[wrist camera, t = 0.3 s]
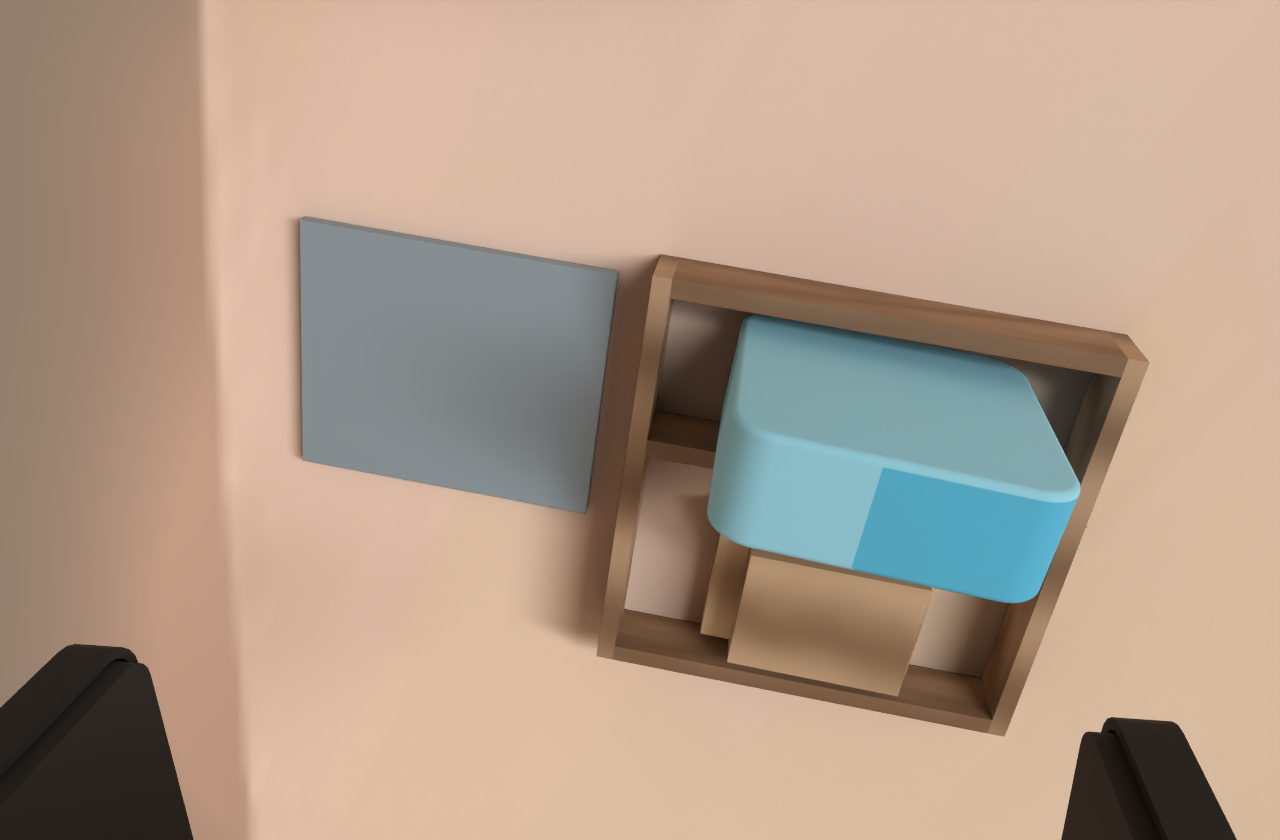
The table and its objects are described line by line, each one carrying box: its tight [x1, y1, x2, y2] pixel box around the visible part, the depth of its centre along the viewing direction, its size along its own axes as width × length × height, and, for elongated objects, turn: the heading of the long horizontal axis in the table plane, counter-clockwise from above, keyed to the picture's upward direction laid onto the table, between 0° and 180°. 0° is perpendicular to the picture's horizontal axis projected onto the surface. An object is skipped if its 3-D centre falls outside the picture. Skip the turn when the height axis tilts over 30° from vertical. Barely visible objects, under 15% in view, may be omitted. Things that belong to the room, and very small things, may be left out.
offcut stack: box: [700, 534, 934, 696], centre depth 49 cm, size 7×10×4 cm
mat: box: [300, 217, 619, 514], centre depth 48 cm, size 12×14×1 cm
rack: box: [597, 254, 1149, 736], centre depth 47 cm, size 19×20×3 cm
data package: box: [707, 314, 1081, 603], centre depth 40 cm, size 12×4×12 cm, turn 80°
